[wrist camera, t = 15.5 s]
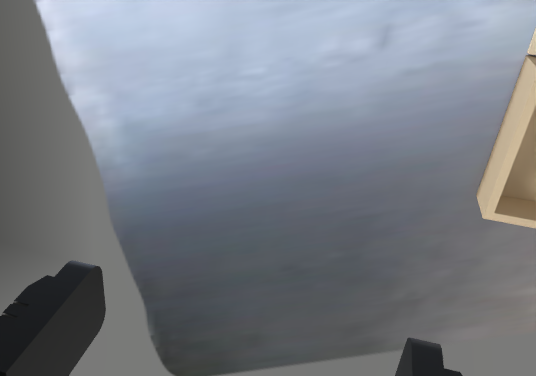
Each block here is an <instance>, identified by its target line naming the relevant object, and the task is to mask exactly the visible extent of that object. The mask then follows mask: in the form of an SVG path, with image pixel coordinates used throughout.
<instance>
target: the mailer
mask: <svg viewBox="0 0 536 376" xmlns="http://www.w3.org/2000/svg"><path fill="white" fill-rule="evenodd" d="M527 53H528V54H533V55H536V29H535V32H534V35H533V37H532V40H531V43H530V46H529V49H528V51H527ZM476 196H477V199H478V203H479V206H480V210H481V213H482V217H483V218H484V219H489V220H494V221H500V222H505V223H510V224H516V225H521V226H526V227H531V228H536V57H534V56H527V55H526V57H525V60H524V63H523V65H522V68H521V71H520V74H519V77H518V79H517V82H516V85H515V88H514V91H513V93H512V96H511V99H510V102H509V105H508V108H507V110H506V113H505V116H504V119H503V122H502V124H501V127H500V130H499V133H498V136H497V138H496V141H495V144H494V147H493V150H492V152H491V155H490V158H489V161H488V164H487V166H486V169H485V172H484V175H483V178H482V180H481V183H480V186H479V189H478V192H477V194H476Z"/></svg>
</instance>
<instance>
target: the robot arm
mask: <svg viewBox="0 0 536 376" xmlns="http://www.w3.org/2000/svg"><path fill="white" fill-rule="evenodd" d="M105 311H106V308H105V297H104V287H103V276H102V270H101V268H100V267H99V266H95V265H90V264H86V263H81V262H77V261H70V262H68V263H67V264H66V265H65V266H64V267H63V268H62V269H61V270H60V271H59V273H58V274H57V275H56V276H55V277H52V276H48V275H47V276H45V277H43V278H41V279H40V280H38V281H36V282H35V283H33V284H31V285H29V286H28V287H27V288H26V289H25V290H24V291H23V292H22V293H21V294H20V295H19V296H18V297H17V298H16V299H15V300H14V303H13V304H10V305H9V306H8V307H7V309H5V311H4V312H3V313H2V316H0V376H69V374H70V373H71V371H72V370H73V368H74V367H75V366H76V364H77V363H78V361H79V360H80V358H81V357H82V355H83V354H84V353H85V351H86V350H87V348H88V347H89V345H90V344H91V342H92V341H93V340H94V338H95V337H96V335H97V334H98V332H99V331H100V329H101V326H102V324H103V321H104V317H105ZM395 376H462V374H461V373H460V372H457V371H452V370H448V369H444V365H443V356H442V348H441V345H440V344H436V343H431V342H427V341H422V340H418V339H414V338H408V339H407V341H406V344H405V347H404V350H403V353H402V356H401V359H400V362H399V365H398V368H397V371H396V375H395Z"/></svg>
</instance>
